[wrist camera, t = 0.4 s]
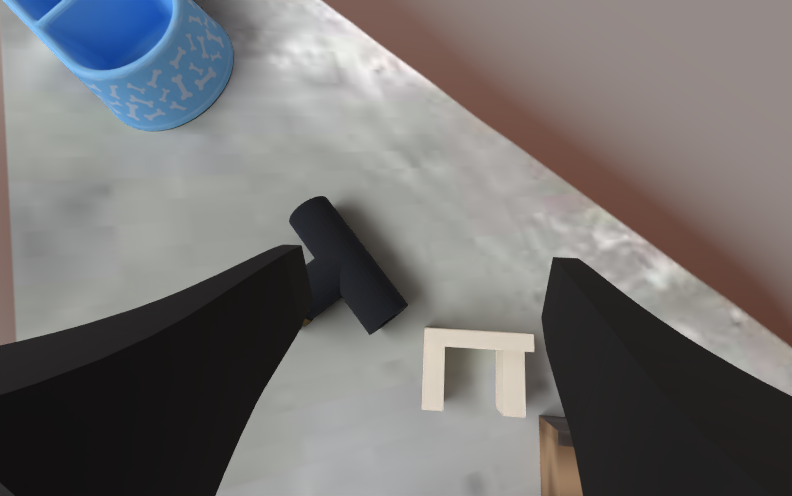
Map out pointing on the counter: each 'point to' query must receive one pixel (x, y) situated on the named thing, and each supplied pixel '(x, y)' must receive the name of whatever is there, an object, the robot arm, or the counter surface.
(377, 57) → the counter surface
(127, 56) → the dog bowl
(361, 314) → the pipe connector
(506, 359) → the cream forked block
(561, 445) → the rail
